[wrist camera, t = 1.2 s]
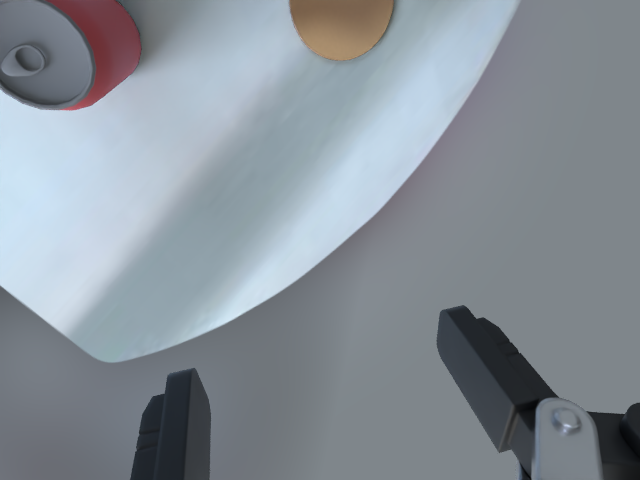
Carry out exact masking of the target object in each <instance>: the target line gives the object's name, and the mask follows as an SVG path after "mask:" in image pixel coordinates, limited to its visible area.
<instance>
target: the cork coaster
mask: <svg viewBox="0 0 640 480" xmlns="http://www.w3.org/2000/svg"><path fill="white" fill-rule="evenodd" d="M393 3H394V0H289V5H290V13H291V17H292V21H293V23H294V26H295V29H296V31H297V33H298V35H299V36H300V38H301V39H302V41H303V42H304V43H305V44H306V45H307V46H308V47H309V48H310V49H311V50H312V51H314V52H315V53H317V54H318V55H320V56H322V57H325V58H328V59H331V60H349V59H353V58H356V57H358V56H360V55H362V54H364V53H366V52H367V51H368V50H370V49H371V48H372V47H373V46H374V45H375V44H376V43H377V42H378V41H379V39H380V38H381V37H382V35H383V33H384V32H385V30H386V28H387V26H388V23H389V21H390V18H391V14H392V10H393Z"/></svg>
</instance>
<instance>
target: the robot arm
mask: <svg viewBox="0 0 640 480" xmlns="http://www.w3.org/2000/svg"><path fill="white" fill-rule="evenodd" d="M437 348H438V352H439V354H440V357H441V359H442V361H443V362H444V364H445V366H446V367H447V369H448V370H449V372H450V374H451V375H452V377H453V379H454V380H455V382H456V384H457V385H458V387H459V388H460V390H461V392H462V393H463V395H464V397H465V398H466V400H467V401H468V403H469V405H470V406H471V408H472V410H473V411H474V413H475V415H476V416H477V418H478V419H479V421H480V422H481V424H482V426H483V428H484V429H485V431H486V432H487V434H488V436H489V437H490V439H491V441H492V442H493V444H494V445H495V447H496V449H497V450H498V452H499V453H500V452H504V451H507V450H511V449H512V451H513V452H514V454H515V455H516V457H517V463H516V480H640V403H636V404H633V405H632V406H630V407H629V409H628V410H627V412H626V413H625V414H614V413H597V412H588V411H585V410H584V409H583V408H581V407H580V406H579V405H577V404H575V403H573V402H571V401H569V400H566V399H562V398H559V397H558V396H557V395H556V394H555V393H554V392H553V391H552V390H551V389H550V387H549V386H548V385H547V384H546V383H545V381H544V380H543V379H542V378H541V377H540V375H539V374H538V373H537V372H536V371H535V370H534V368H533V367H532V366H531V365H530V364H529V363H528V361H527V360H526V359H525V358H524V357H523V355H522V354H521V353H519V352H518V350H517V348H516V347H515V346H514V345H513V344H512V343H510V341H509V339H508V338H507V336H506V335H505V334H504V333H503V332H502V331H501V329H500V328H499V327H497V326H496V325H494V324H493V323H491V322H490V321H488V320H487V319H485V318H479V319H476V318H475V317H474V315H473V314H472V313H471V312H470V310H469V309H468V308H467V307H465V306H463V305H462V306H458V307H454V308H450V309H446V310H442V311H441V312H440V317H439V325H438V334H437ZM210 428H211V413H210V405H209V400H208V397H207V394H206V392H205V390H204V387H203V385H202V382H201V380H200V378H199V375H198V373H197V371H196V369H195V368H192V369H187V370H183V371H179V372H174V373H170V374H169V375H168V377H167V382H166V390H165V394H161V395H157V396H153V397H152V399H151V400H150V402H149V404H148V406H147V407H146V409H145V411H144V413H143V415H142V420H141V425H140V430H139V434H140V435H139V437H138V441H137V446H136V448H137V451H136V452H135V458H134V463H133V468H132V474H131V479H130V480H209V477H210V472H209V471H210Z"/></svg>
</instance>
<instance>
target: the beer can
mask: <svg viewBox="0 0 640 480" xmlns="http://www.w3.org/2000/svg"><path fill="white" fill-rule="evenodd" d="M140 54H141V42H140V35H139V32H138V30H137V28H136V25H135V23H134V21H133V19H132V18H131V16H130V15H129V14H128V12H127V11H126V10H125V9H124V7H123V6H122V5H121V4H119V3H118V2H117V1H115V0H0V89H1V90H2V91H3V92H4V93H5V94H7V95H9V96H10V97H12V98H14V99H16V100H17V101H19V102H21V103H22V104H26V105H29V106H32V107H35V108H38V109H45V110H77V109H81V108H84V107H88V106H91V105H93V104H94V103H95V102H97V101H98V100H99V99H101V98H102V97H104V96H105V95H106V94H107V93H108V92H110V91H111V90H112V89H113V88H115V87H116V86H117V85H118V84H119V83H121V82H122V81H123V80H124V79H126V78H127V77H128V76H129V75H130V74H132V73H133V71H134V69H135V68H136V66H137V65H138V63H139V59H140Z"/></svg>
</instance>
